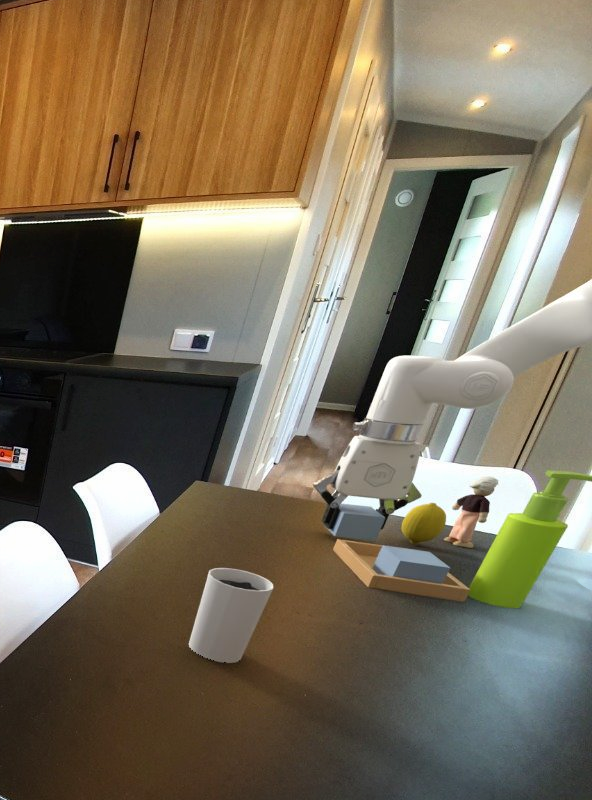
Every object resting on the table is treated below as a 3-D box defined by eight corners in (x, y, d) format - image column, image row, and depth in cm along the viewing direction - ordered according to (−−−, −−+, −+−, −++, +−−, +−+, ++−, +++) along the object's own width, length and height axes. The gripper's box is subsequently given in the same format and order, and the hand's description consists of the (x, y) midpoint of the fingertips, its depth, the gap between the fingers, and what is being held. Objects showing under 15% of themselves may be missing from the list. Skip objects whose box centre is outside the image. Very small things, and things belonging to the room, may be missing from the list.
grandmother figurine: (486, 550, 115) (522, 483, 110) (465, 549, 115) (500, 482, 110) (447, 535, 122) (479, 471, 117) (427, 534, 122) (458, 470, 117)
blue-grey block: (416, 577, 102) (429, 551, 100) (436, 594, 96) (450, 567, 94) (370, 570, 104) (382, 545, 102) (387, 587, 98) (400, 560, 96)
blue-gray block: (361, 529, 119) (371, 506, 117) (375, 541, 113) (385, 517, 111) (322, 524, 121) (331, 502, 119) (334, 536, 115) (344, 512, 114)
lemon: (401, 546, 116) (421, 505, 113) (389, 536, 121) (407, 496, 117) (439, 551, 114) (460, 509, 111) (425, 541, 119) (445, 500, 115)
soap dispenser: (535, 616, 91) (616, 481, 83) (471, 603, 94) (542, 473, 86) (521, 601, 96) (596, 472, 87) (459, 589, 99) (526, 464, 90)
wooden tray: (413, 563, 108) (420, 550, 107) (462, 604, 94) (470, 589, 93) (331, 552, 112) (337, 538, 111) (366, 589, 98) (373, 575, 97)
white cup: (193, 632, 84) (216, 563, 80) (251, 651, 80) (279, 580, 76) (177, 649, 80) (201, 577, 76) (237, 671, 76) (266, 596, 71)
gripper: (335, 430, 109) (299, 529, 117) (464, 440, 103) (417, 543, 111) (322, 423, 116) (288, 517, 123) (443, 432, 110) (399, 530, 117)
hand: (350, 528), depth 117 cm, fingers closed on blue-gray block, 6 cm apart
